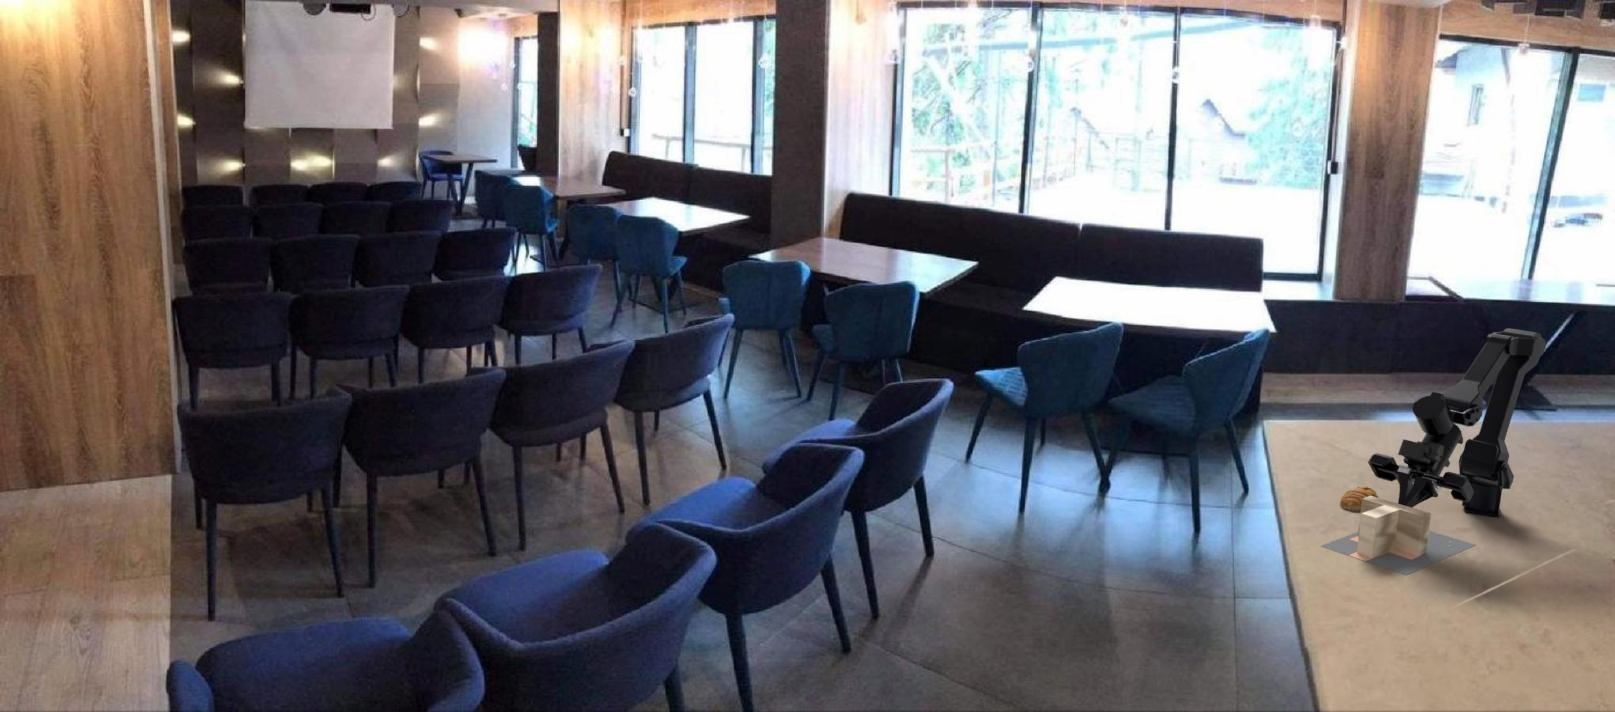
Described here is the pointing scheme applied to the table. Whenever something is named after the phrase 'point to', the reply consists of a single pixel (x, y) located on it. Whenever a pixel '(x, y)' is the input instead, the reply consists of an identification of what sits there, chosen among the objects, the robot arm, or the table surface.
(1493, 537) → the table surface
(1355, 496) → the pastry
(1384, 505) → the t block
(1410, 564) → the mat
